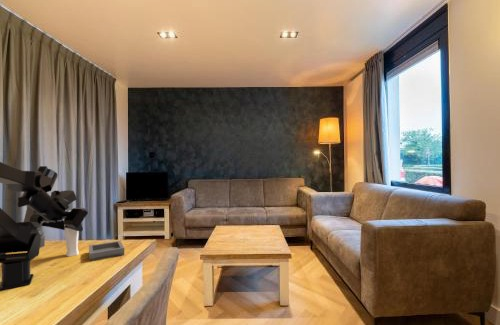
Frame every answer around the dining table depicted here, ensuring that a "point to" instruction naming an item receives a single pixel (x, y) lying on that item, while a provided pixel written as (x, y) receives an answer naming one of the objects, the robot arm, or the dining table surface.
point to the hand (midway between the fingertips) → (75, 229)
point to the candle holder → (27, 219)
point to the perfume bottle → (71, 241)
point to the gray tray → (106, 250)
